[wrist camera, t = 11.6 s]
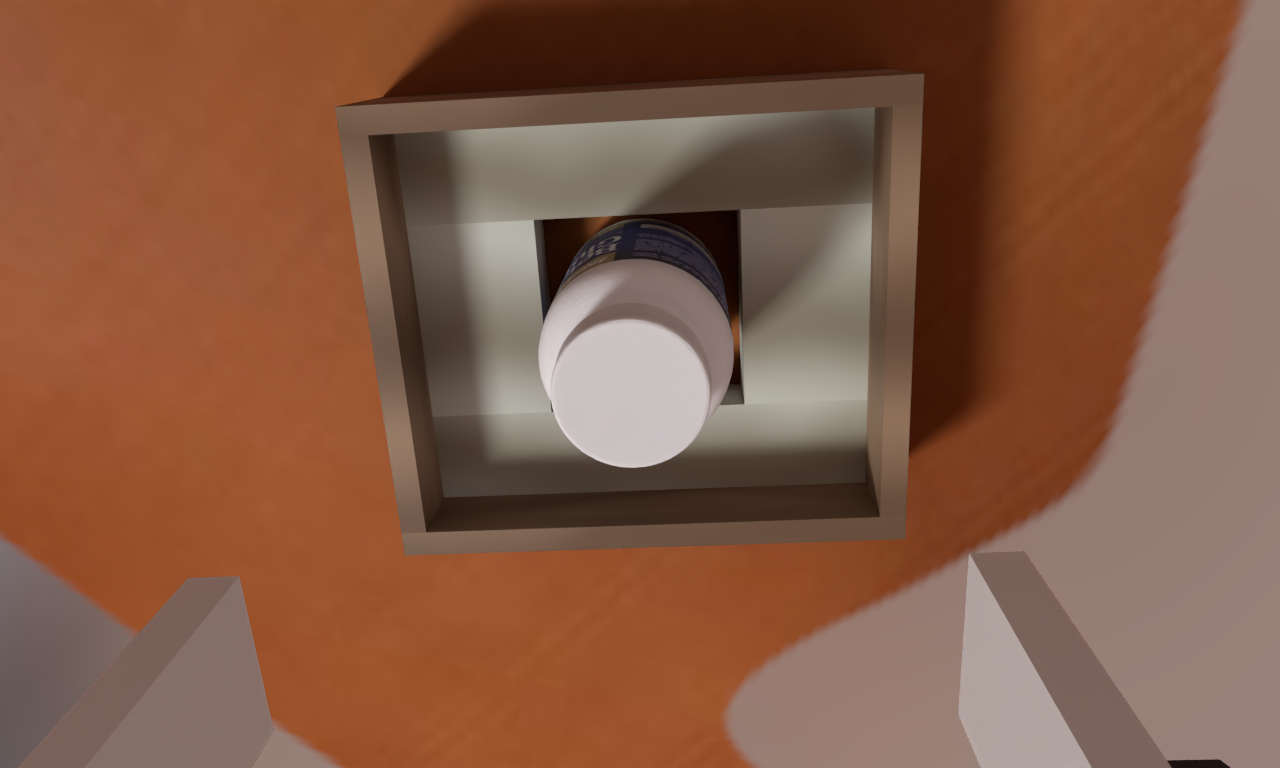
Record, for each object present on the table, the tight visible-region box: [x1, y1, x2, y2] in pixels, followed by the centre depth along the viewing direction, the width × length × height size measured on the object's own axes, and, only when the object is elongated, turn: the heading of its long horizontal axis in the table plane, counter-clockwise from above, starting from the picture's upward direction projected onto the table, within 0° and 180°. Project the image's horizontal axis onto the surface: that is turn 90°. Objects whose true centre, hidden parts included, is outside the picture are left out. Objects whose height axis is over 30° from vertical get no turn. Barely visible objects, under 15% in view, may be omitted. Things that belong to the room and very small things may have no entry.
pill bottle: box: [538, 218, 734, 468], centre depth 28 cm, size 5×5×10 cm
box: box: [335, 69, 924, 555], centre depth 31 cm, size 14×16×4 cm
